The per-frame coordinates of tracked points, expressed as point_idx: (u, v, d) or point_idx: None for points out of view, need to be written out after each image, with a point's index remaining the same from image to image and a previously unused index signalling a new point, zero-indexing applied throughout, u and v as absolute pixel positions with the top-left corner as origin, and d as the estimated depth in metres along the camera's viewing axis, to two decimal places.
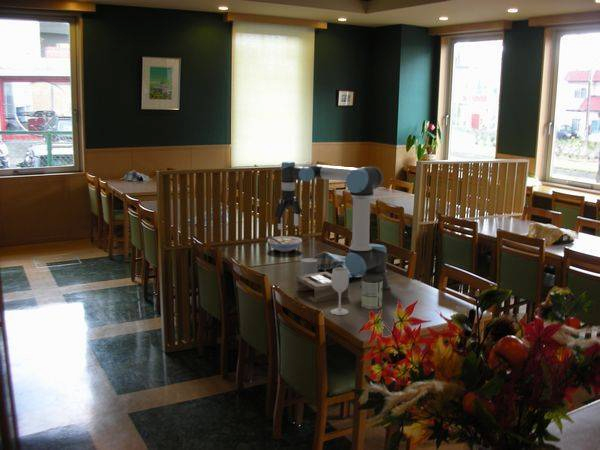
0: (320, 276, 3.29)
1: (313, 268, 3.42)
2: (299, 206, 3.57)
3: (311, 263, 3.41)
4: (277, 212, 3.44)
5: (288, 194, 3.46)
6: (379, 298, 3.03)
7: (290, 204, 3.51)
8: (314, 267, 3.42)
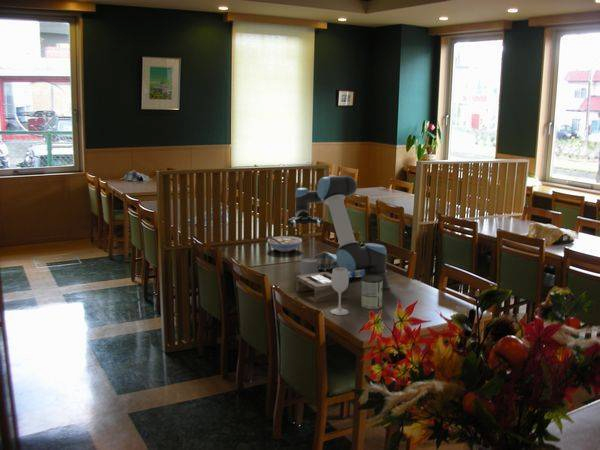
0: (320, 276, 3.29)
1: (313, 268, 3.42)
2: (319, 218, 3.62)
3: (311, 263, 3.41)
4: None
5: (299, 213, 3.69)
6: (379, 298, 3.03)
7: (305, 218, 3.63)
8: (314, 267, 3.42)
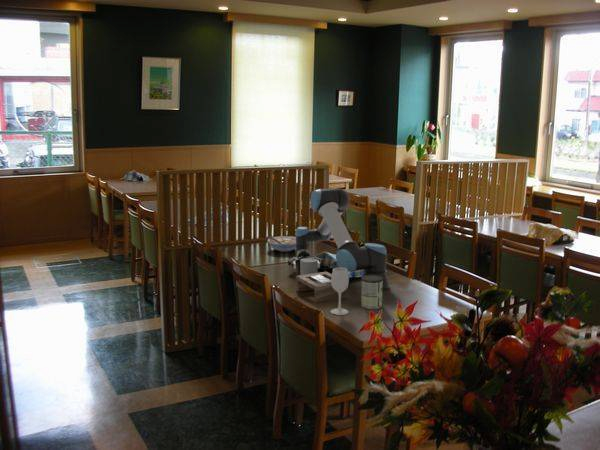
0: (320, 276, 3.29)
1: (313, 268, 3.42)
2: None
3: (311, 263, 3.41)
4: None
5: (299, 253, 3.73)
6: (379, 298, 3.03)
7: None
8: (314, 267, 3.42)
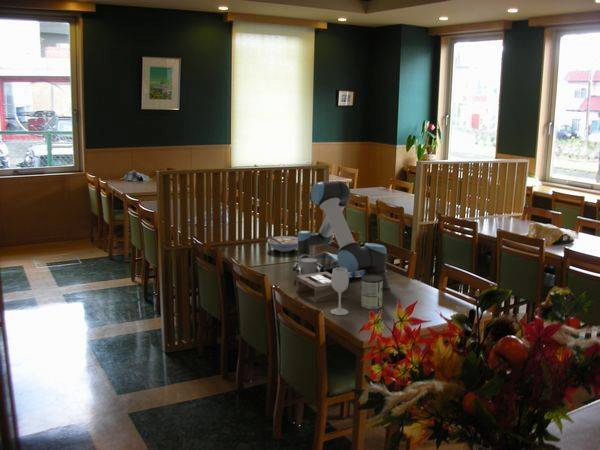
0: (320, 276, 3.29)
1: (313, 268, 3.42)
2: (320, 264, 3.53)
3: (311, 263, 3.41)
4: None
5: (301, 258, 3.61)
6: (379, 298, 3.03)
7: None
8: (314, 267, 3.42)
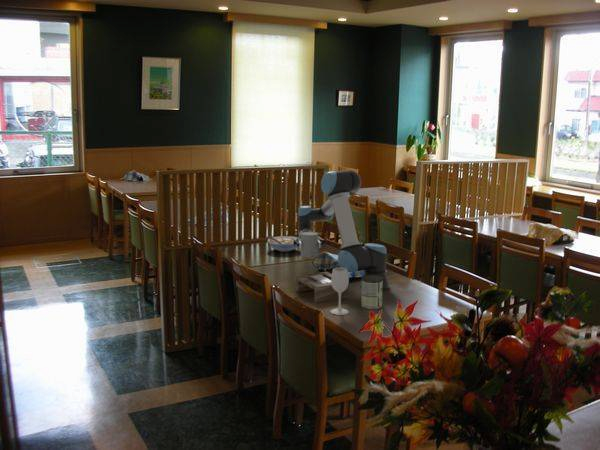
0: (320, 276, 3.29)
1: (313, 242, 3.36)
2: (321, 238, 3.47)
3: (312, 236, 3.35)
4: None
5: None
6: (379, 298, 3.03)
7: None
8: (315, 240, 3.36)
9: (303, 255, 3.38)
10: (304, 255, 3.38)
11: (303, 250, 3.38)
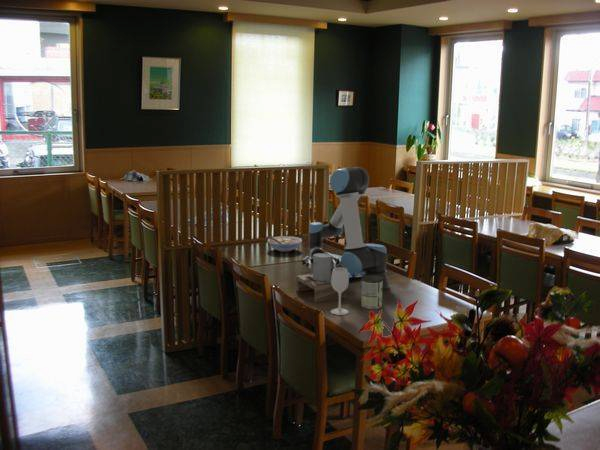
0: None
1: (327, 264, 3.19)
2: (335, 257, 3.30)
3: (325, 258, 3.18)
4: None
5: (313, 251, 3.38)
6: (379, 298, 3.03)
7: None
8: (328, 263, 3.19)
9: (315, 278, 3.21)
10: (316, 278, 3.21)
11: (315, 273, 3.20)
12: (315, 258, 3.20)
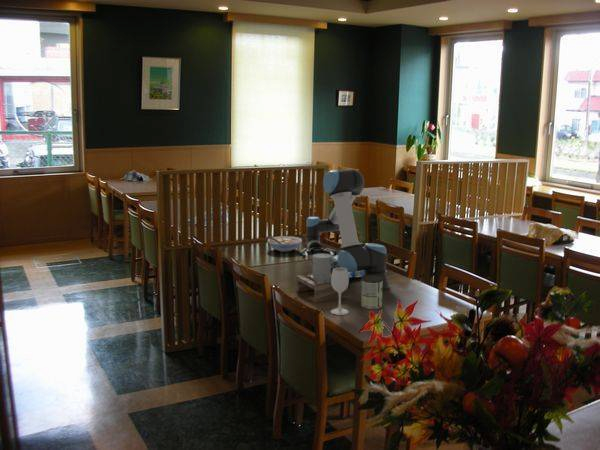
0: None
1: (326, 265, 3.19)
2: None
3: (324, 259, 3.18)
4: None
5: (310, 244, 3.51)
6: (379, 298, 3.03)
7: (317, 249, 3.45)
8: (328, 263, 3.19)
9: (315, 279, 3.21)
10: (316, 278, 3.21)
11: (315, 273, 3.20)
12: (314, 259, 3.19)
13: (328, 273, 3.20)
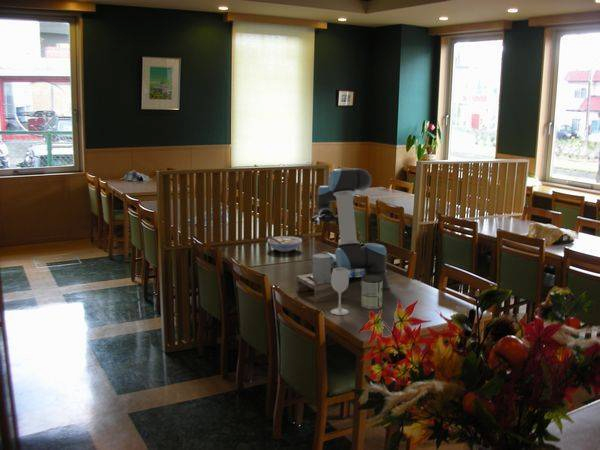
0: None
1: (326, 265, 3.19)
2: None
3: (324, 259, 3.18)
4: None
5: (321, 211, 3.66)
6: (379, 298, 3.03)
7: (329, 215, 3.60)
8: (328, 263, 3.19)
9: (315, 279, 3.21)
10: (316, 278, 3.21)
11: (315, 273, 3.20)
12: (314, 259, 3.19)
13: (328, 273, 3.20)
